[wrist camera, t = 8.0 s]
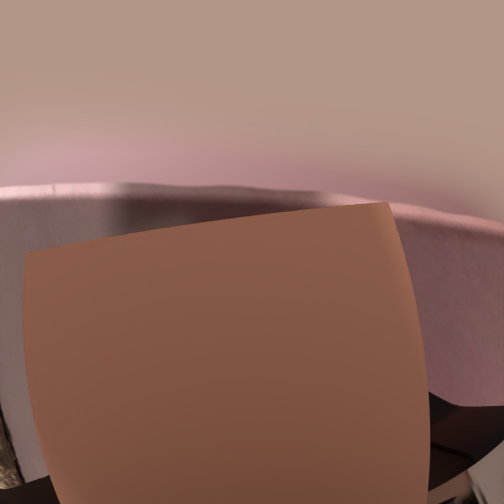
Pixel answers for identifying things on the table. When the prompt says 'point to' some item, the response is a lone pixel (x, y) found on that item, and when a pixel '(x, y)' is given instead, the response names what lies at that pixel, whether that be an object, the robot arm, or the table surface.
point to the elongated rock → (7, 463)
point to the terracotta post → (231, 363)
